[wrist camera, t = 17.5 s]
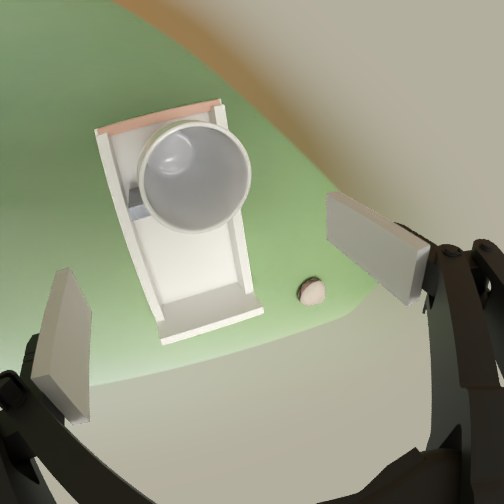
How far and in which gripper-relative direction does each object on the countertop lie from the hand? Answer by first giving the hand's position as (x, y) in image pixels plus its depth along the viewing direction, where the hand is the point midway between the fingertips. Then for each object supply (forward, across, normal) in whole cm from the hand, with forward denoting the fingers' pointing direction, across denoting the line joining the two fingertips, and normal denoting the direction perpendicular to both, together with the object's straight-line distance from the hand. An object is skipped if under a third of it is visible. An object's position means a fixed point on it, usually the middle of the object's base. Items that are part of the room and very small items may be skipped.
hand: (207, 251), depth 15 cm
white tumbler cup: (+19, +1, +1) cm, 19 cm away
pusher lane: (+20, 0, -6) cm, 21 cm away
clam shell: (+20, +16, -22) cm, 34 cm away
